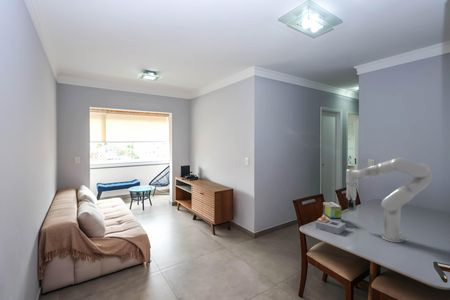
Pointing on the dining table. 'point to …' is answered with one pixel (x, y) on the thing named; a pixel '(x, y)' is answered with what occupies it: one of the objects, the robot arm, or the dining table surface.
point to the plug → (353, 204)
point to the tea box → (332, 211)
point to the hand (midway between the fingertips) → (351, 206)
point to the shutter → (323, 219)
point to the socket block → (331, 226)
